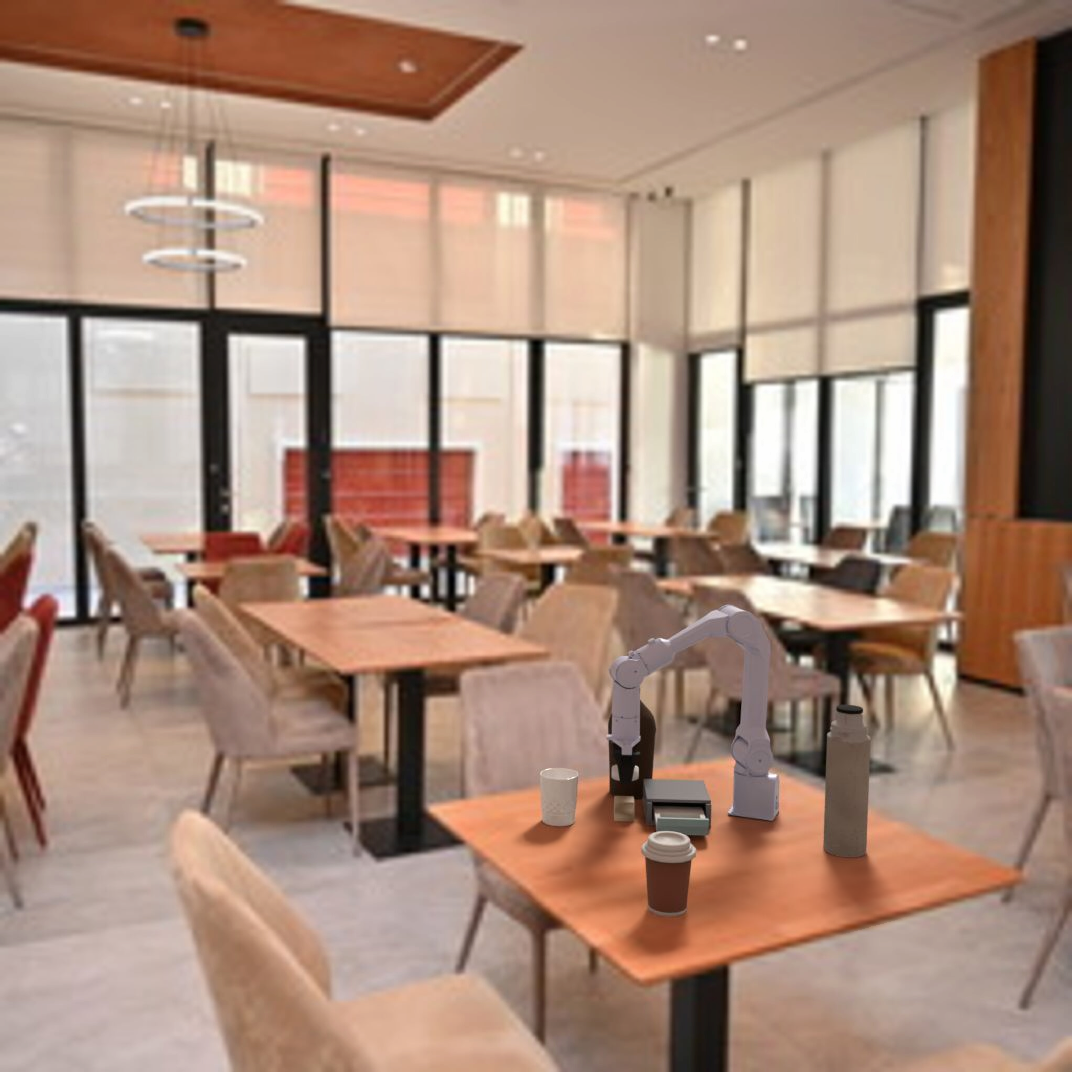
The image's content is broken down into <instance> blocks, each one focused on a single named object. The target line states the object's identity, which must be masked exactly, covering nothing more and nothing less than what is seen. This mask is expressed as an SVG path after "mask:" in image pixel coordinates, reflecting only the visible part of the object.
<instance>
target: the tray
mask: <svg viewBox="0 0 1072 1072" xmlns="http://www.w3.org/2000/svg"><path fill="white" fill-rule="evenodd" d="M653 815H654V820H655V825H654V826H655V830H656V832H659V831H672V832H678V833H682V834H684V835H686V836H709V835H710V834H709V830H710V829H709V828H710V827H709V819H707V818H705V815H704V812H703V809H702V807H675V806H653Z"/></svg>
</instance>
